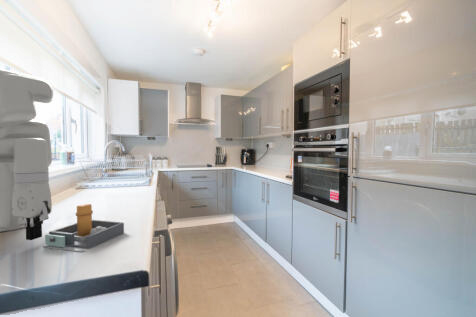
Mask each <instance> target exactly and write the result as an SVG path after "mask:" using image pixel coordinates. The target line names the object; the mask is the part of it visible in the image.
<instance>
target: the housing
mask: <svg viewBox="0 0 476 317" xmlns="http://www.w3.org/2000/svg"><path fill="white" fill-rule="evenodd" d="M124 228H125V223H124V222H120V221H109V220H98V219H92V230H90V234H89V235H87V236H84V237H82V236H77V222H76V223H72V224H69V225H65V226H63V227H60V228H57V229H54V230H50V231H48V234H50V235H59V236H65V247H58V246H51V245H45V244H44V245H42V247H43V248H48V249H49V248H50V249H56V250H61V251H63V250H64V251H70V252H77V253H84V252H86V249H92V248H95V247H96V246H98V245H101V244H103V243H105V242H107V241H110V240H112V239H113V238H116V237H118V236H120V235H122V234H124V233H125V229H124ZM68 246H69V247H68ZM82 248H83V249H82Z"/></svg>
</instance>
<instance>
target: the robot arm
mask: <svg viewBox="0 0 476 317" xmlns="http://www.w3.org/2000/svg"><path fill="white" fill-rule="evenodd" d="M53 99H54V91H53V87H52V85H51V84H50V83H49V81H47V80H45V79H44V78H41V77H38V76H34V75H30V74H25V73H20V72H16V71H11V70H6V69H1V68H0V233H1V232H9V231H16V230H19V229H24V228H25V239H26V240H27V241H33V240H36V239H39V238H42V236H43V229H42V228H43V227H42V226H43V224H44V221H46V220H49V215H50V214H51V213H52V209H53V208H52V206H53V204H52V203H53V202H52V194H51V193H52V192H51V187H50V184H49V182H50V178H49V177H50V176H49V172H50V171H49V167H50V166H51V165H52V162H53V154H52V144H51V135H50V134H51V133H50V129H49V127H48V125H47V124H46V123H45V122H44V121H42V120H36V119H35V118H36V116H37V110H36V105H35V103H36V102H37V103H41V104H44V103H45V104H49V103H51V102H52V101H53ZM34 119H35V120H34Z"/></svg>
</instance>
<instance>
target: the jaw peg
mask: <svg viewBox="0 0 476 317" xmlns="http://www.w3.org/2000/svg"><path fill="white" fill-rule="evenodd" d="M92 208H93V207H92V204H91V203H89V204H88V203H86V204H85V203H84V204H79V205H76V212H75V216H76V223H77V236H82V237H84V236H87V235H89V234H90V230H92V220H93V218H92V217H93V216H92V215H93V212H94V211H93V210H92Z"/></svg>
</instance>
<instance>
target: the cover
mask: <svg viewBox="0 0 476 317" xmlns="http://www.w3.org/2000/svg"><path fill="white" fill-rule="evenodd" d="M44 237H45V238H44V243H45V244H44V245H51V246H58V247H66V245H65V236H59V235H50V234H49V233H46V234H45V235H44Z"/></svg>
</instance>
